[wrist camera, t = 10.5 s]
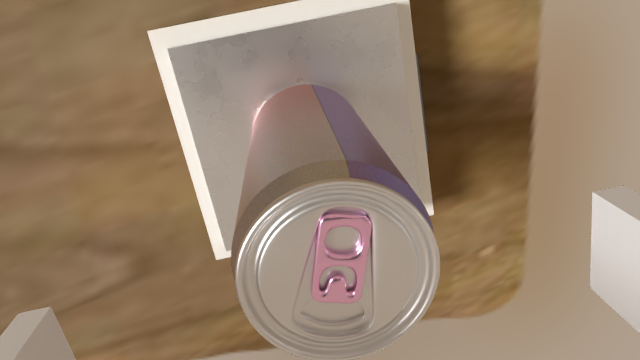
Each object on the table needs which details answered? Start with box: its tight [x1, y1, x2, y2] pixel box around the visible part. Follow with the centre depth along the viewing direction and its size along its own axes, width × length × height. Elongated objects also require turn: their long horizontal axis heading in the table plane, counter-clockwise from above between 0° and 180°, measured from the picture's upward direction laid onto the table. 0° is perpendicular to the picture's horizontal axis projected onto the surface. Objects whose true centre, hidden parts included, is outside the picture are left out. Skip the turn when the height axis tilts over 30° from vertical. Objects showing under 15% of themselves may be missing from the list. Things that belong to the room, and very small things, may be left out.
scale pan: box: [167, 3, 420, 251], centre depth 28 cm, size 12×12×1 cm
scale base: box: [147, 0, 434, 260], centre depth 30 cm, size 14×14×3 cm
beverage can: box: [231, 84, 440, 360], centre depth 20 cm, size 6×6×15 cm
